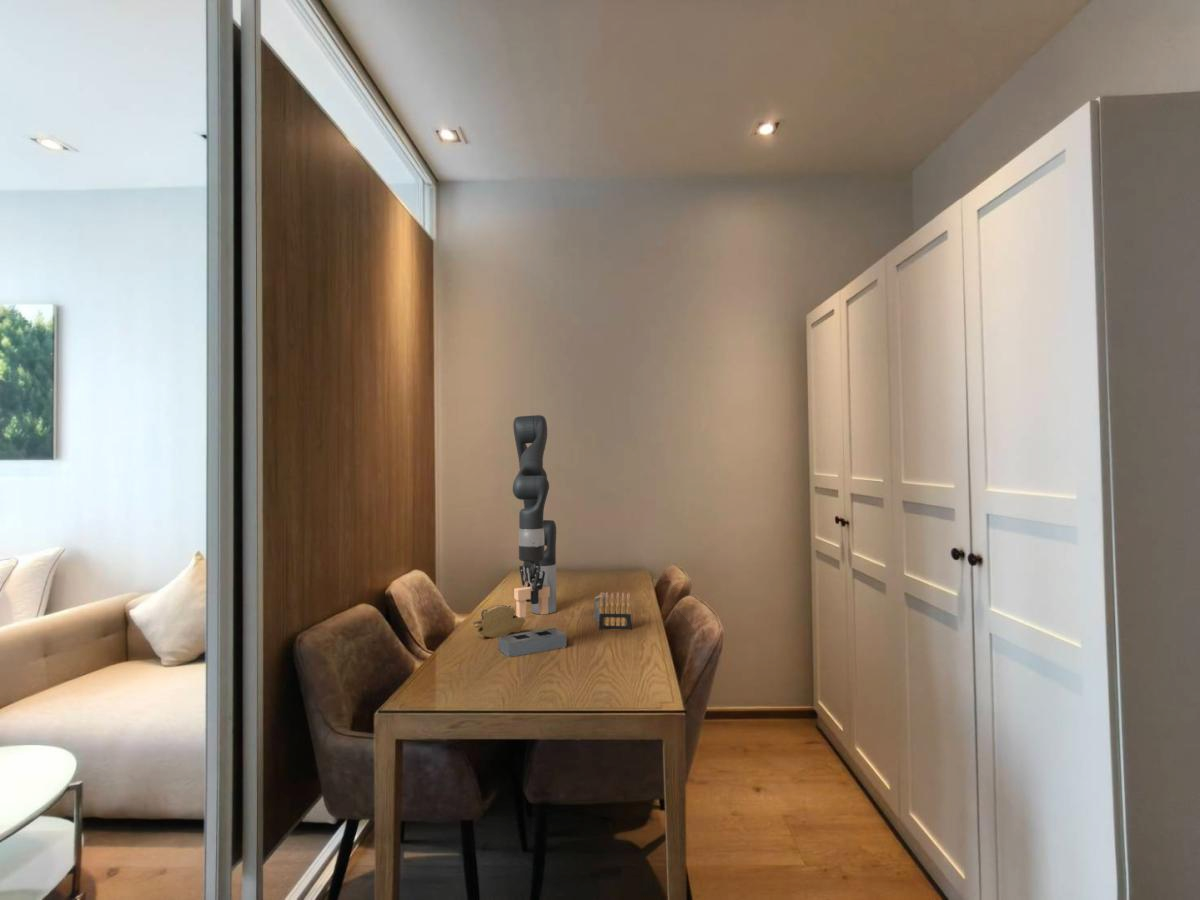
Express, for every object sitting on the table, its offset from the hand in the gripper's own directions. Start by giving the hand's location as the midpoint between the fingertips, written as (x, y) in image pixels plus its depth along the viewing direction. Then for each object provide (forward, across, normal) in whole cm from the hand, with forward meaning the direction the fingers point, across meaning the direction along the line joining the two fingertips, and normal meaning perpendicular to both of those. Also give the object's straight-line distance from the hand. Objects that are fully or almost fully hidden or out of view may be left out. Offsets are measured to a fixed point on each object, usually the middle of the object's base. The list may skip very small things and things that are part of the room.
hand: (532, 602), depth 188 cm
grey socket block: (+14, 0, 0) cm, 14 cm away
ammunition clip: (+14, -6, +32) cm, 35 cm away
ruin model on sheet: (+14, -22, +36) cm, 44 cm away
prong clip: (+4, 0, 0) cm, 4 cm away
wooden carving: (+14, -18, -4) cm, 23 cm away
